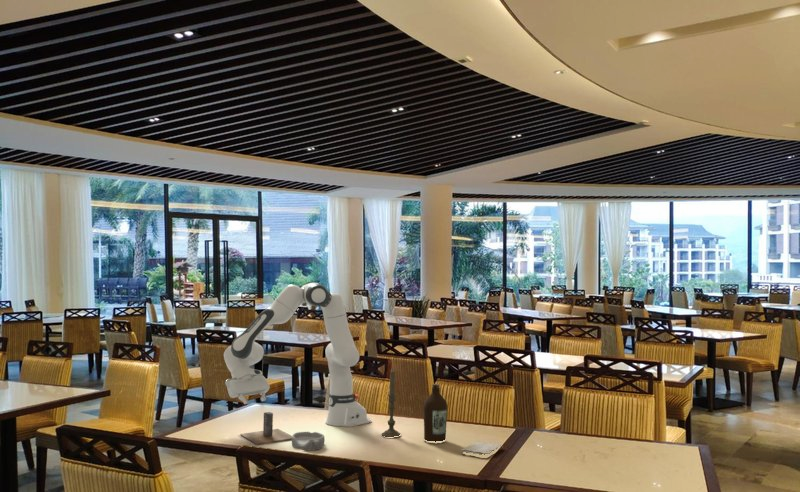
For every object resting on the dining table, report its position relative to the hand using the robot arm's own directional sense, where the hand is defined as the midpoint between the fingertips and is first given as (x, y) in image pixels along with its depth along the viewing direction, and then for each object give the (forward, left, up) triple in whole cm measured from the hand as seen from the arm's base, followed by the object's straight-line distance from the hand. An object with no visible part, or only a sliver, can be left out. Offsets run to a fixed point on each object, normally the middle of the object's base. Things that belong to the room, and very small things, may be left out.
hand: (255, 401), depth 296 cm
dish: (-12, +28, -15) cm, 34 cm away
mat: (-2, +9, -15) cm, 18 cm away
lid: (-2, +9, -14) cm, 17 cm away
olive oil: (-63, +50, -15) cm, 82 cm away
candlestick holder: (-52, +32, -15) cm, 63 cm away
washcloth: (-70, +73, -16) cm, 103 cm away
